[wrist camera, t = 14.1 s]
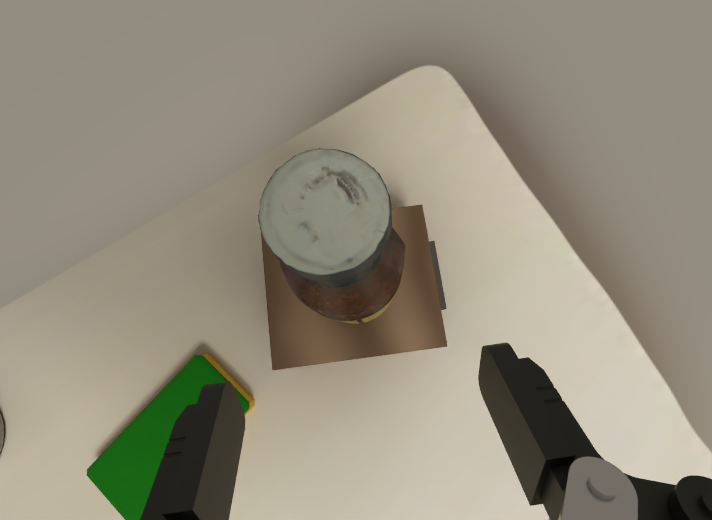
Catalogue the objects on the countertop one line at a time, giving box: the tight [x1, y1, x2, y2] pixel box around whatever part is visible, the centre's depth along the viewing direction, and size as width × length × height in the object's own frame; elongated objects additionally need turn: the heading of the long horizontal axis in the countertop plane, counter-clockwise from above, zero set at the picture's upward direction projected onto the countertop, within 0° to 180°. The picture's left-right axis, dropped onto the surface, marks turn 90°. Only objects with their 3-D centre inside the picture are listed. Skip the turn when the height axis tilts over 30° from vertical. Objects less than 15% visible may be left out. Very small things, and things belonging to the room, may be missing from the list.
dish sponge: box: [87, 354, 254, 520], centre depth 34 cm, size 7×14×2 cm, turn 138°
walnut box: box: [261, 205, 447, 370], centre depth 34 cm, size 15×12×7 cm
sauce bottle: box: [258, 148, 406, 324], centre depth 21 cm, size 6×6×20 cm
